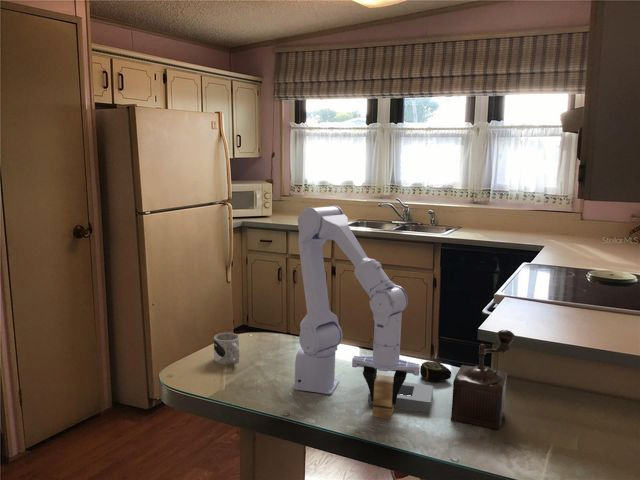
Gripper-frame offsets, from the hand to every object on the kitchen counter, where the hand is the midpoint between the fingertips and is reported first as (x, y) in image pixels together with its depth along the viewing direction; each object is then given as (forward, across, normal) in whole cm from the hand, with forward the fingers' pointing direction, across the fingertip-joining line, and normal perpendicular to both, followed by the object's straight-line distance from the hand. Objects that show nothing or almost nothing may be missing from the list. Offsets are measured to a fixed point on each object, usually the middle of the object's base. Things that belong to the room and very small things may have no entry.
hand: (383, 401), depth 121 cm
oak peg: (+3, 0, 0) cm, 3 cm away
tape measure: (+3, +10, +24) cm, 26 cm away
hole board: (+3, +3, +8) cm, 9 cm away
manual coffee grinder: (+3, +21, +8) cm, 23 cm away
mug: (+3, -44, +16) cm, 47 cm away
